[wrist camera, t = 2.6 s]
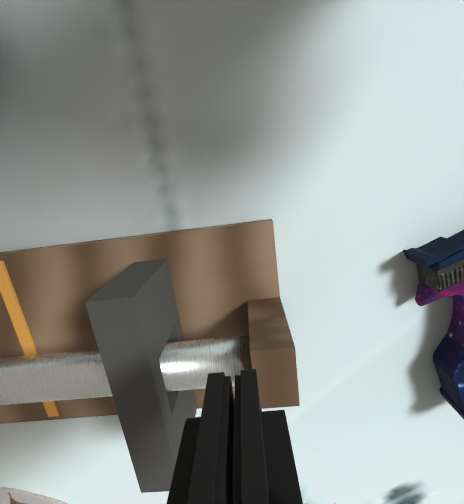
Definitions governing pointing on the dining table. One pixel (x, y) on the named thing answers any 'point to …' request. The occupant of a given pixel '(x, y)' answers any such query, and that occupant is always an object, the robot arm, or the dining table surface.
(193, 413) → the collar
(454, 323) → the handgun
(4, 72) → the dining table surface
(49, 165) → the dining table surface
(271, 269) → the pipe rack
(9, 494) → the fossil
